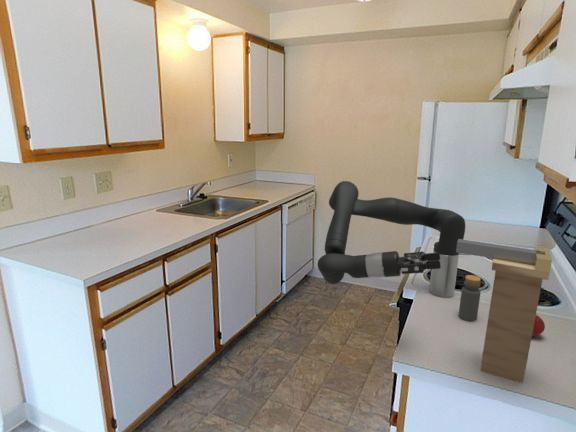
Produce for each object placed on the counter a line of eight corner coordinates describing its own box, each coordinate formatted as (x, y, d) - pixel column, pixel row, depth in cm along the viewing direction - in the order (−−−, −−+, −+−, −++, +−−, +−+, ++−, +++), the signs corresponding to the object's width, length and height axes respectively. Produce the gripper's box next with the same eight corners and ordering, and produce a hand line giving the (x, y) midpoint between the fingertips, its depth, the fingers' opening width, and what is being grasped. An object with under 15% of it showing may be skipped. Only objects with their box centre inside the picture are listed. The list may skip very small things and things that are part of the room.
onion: (544, 335, 120) (549, 313, 118) (539, 342, 116) (544, 319, 114) (524, 328, 124) (528, 306, 122) (518, 335, 120) (522, 312, 118)
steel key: (458, 245, 108) (460, 235, 107) (546, 259, 97) (548, 248, 97) (454, 256, 99) (455, 245, 98) (549, 272, 89) (551, 260, 88)
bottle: (478, 322, 128) (484, 281, 124) (460, 320, 129) (465, 280, 125) (474, 314, 133) (479, 274, 130) (456, 312, 135) (461, 273, 131)
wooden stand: (478, 352, 111) (494, 251, 103) (526, 365, 105) (546, 259, 97) (476, 371, 103) (492, 262, 95) (527, 387, 97) (549, 272, 89)
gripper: (387, 269, 121) (441, 265, 114) (381, 284, 108) (442, 280, 101) (384, 247, 120) (438, 241, 114) (377, 259, 107) (438, 253, 101)
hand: (440, 260), depth 108 cm, fingers open, 8 cm apart
